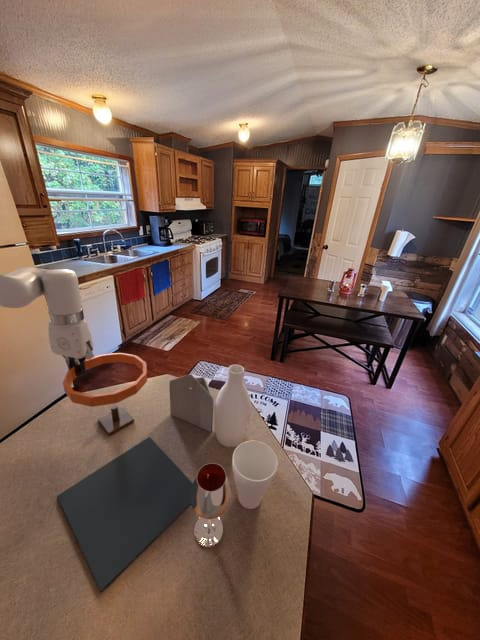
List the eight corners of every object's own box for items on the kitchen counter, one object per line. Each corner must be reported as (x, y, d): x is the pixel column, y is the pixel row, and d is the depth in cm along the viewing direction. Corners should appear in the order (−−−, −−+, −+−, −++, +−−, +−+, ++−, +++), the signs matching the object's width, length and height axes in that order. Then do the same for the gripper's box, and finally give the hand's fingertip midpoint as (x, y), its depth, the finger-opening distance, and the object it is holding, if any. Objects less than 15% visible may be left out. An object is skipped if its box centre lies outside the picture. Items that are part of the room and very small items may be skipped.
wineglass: (231, 516, 59) (237, 463, 52) (220, 559, 52) (225, 504, 44) (198, 505, 60) (199, 453, 53) (183, 545, 53) (182, 490, 46)
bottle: (229, 417, 87) (234, 353, 77) (255, 435, 81) (264, 369, 70) (205, 436, 79) (207, 368, 69) (231, 458, 73) (238, 387, 62)
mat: (57, 497, 60) (56, 495, 60) (149, 437, 77) (149, 436, 77) (101, 592, 46) (100, 591, 46) (201, 494, 63) (201, 493, 63)
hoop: (55, 378, 73) (52, 370, 71) (126, 353, 88) (125, 346, 87) (84, 418, 61) (82, 409, 60) (160, 381, 76) (160, 373, 75)
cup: (253, 530, 57) (259, 492, 51) (220, 497, 63) (222, 459, 57) (278, 495, 64) (286, 458, 59) (246, 468, 70) (251, 432, 65)
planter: (223, 416, 87) (226, 369, 79) (211, 432, 80) (213, 383, 73) (184, 400, 93) (183, 355, 85) (170, 414, 86) (167, 366, 78)
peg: (98, 421, 81) (95, 406, 79) (122, 408, 87) (120, 394, 84) (109, 435, 76) (106, 420, 74) (134, 421, 82) (132, 407, 80)
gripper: (29, 317, 66) (44, 375, 73) (82, 326, 64) (92, 385, 71) (54, 307, 73) (65, 361, 80) (102, 315, 70) (110, 370, 78)
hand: (78, 372), depth 75 cm, fingers closed on hoop, 1 cm apart
